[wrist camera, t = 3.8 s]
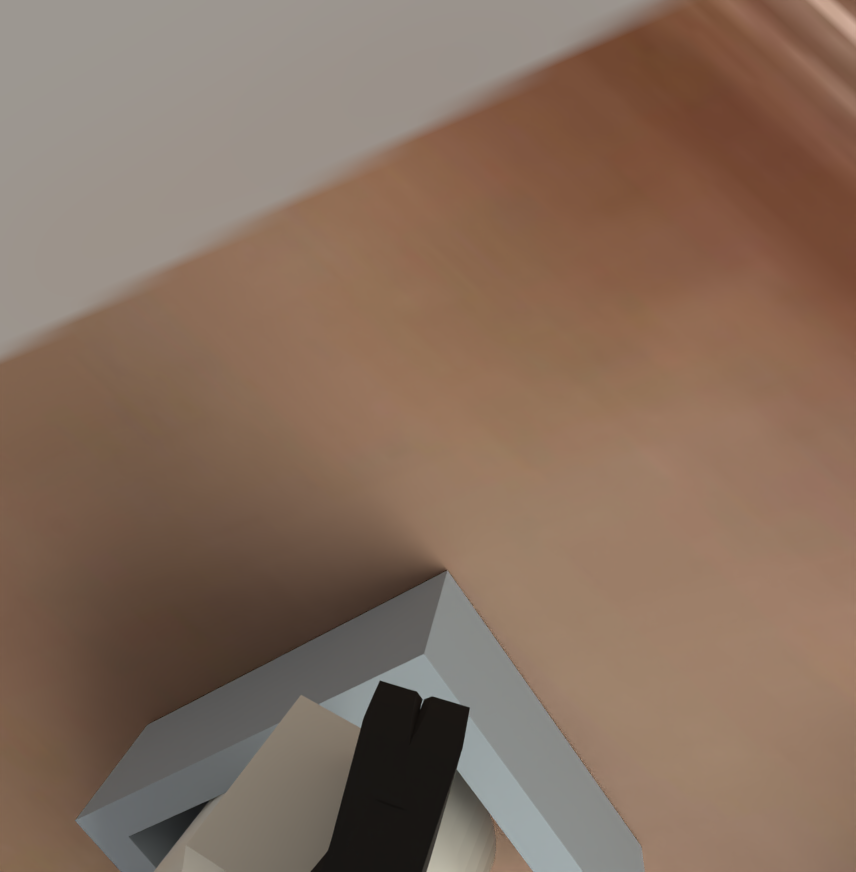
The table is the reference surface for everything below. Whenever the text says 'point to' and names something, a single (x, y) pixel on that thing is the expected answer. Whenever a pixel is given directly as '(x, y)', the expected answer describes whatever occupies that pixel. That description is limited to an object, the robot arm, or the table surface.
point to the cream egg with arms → (310, 807)
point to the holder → (349, 698)
